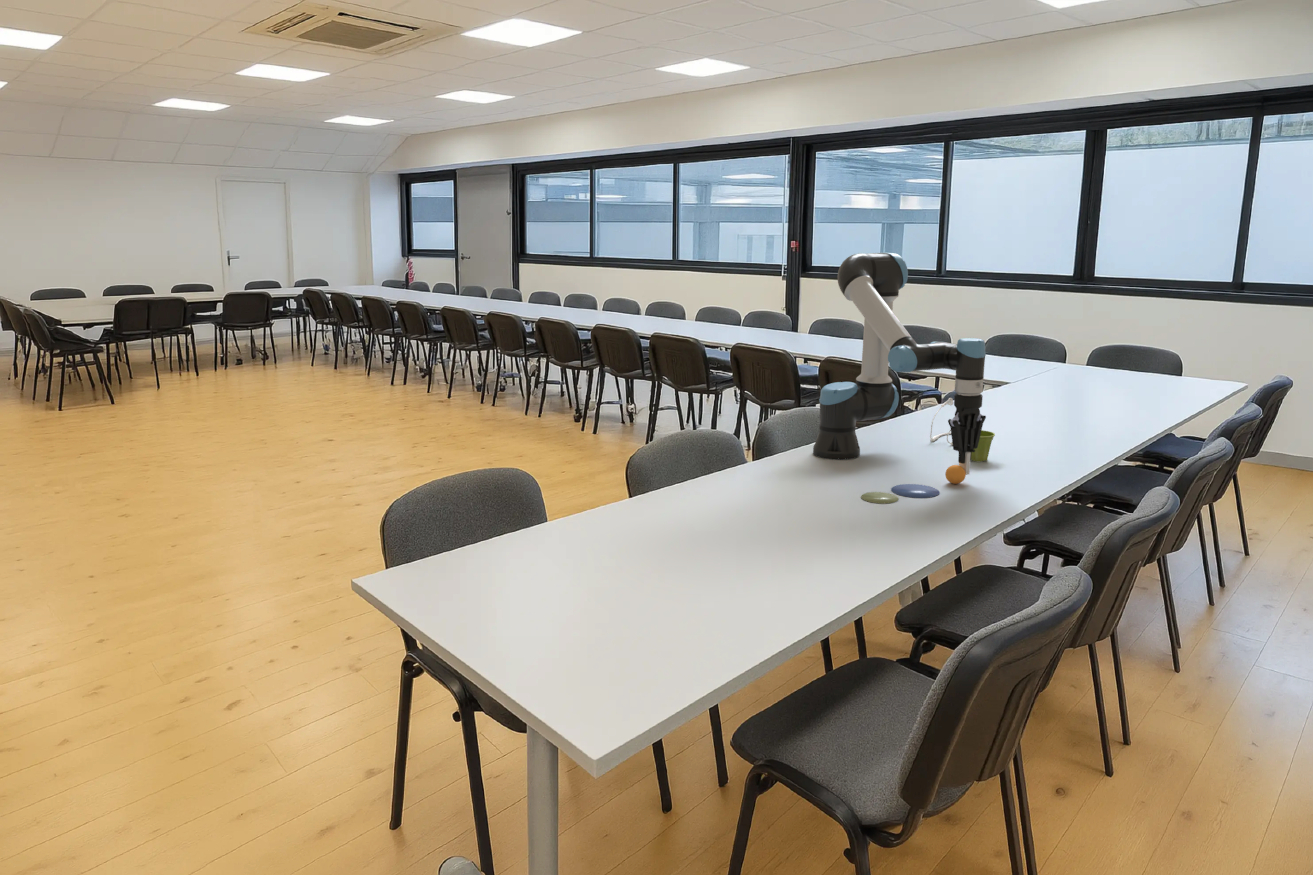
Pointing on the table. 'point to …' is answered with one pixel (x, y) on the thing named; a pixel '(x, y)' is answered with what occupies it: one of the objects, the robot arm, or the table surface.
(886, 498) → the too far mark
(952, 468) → the ball
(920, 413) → the table surface
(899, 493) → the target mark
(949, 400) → the earphone
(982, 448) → the plant pot
